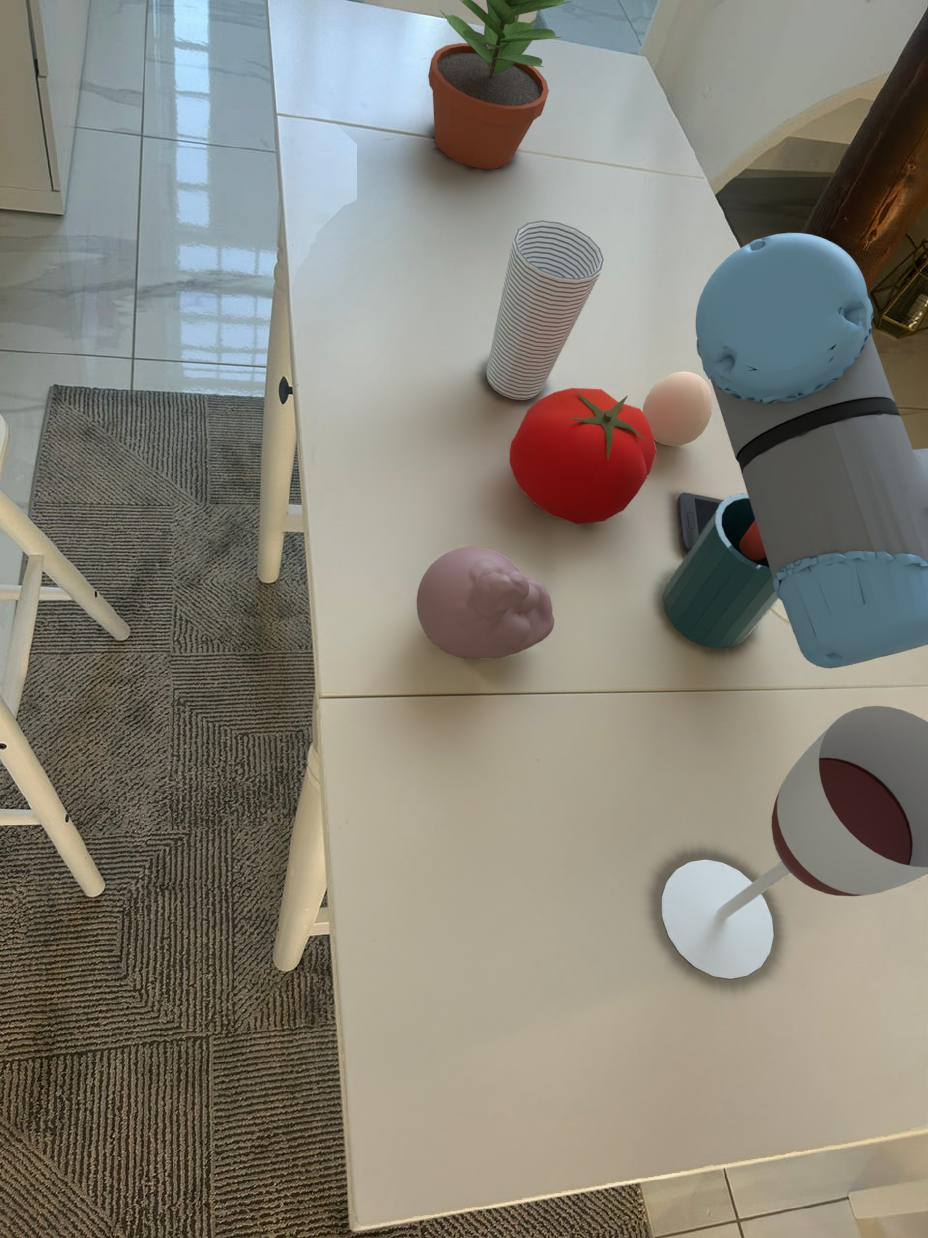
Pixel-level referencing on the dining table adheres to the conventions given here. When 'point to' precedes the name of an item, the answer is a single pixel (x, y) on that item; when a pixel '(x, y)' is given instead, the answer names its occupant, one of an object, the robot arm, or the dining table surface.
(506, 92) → the potted plant
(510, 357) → the cup
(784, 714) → the dining table surface
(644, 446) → the tomato
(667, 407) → the egg
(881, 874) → the wineglass
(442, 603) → the figurine
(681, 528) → the cell phone
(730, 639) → the teal pencil holder
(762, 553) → the red round dowel
